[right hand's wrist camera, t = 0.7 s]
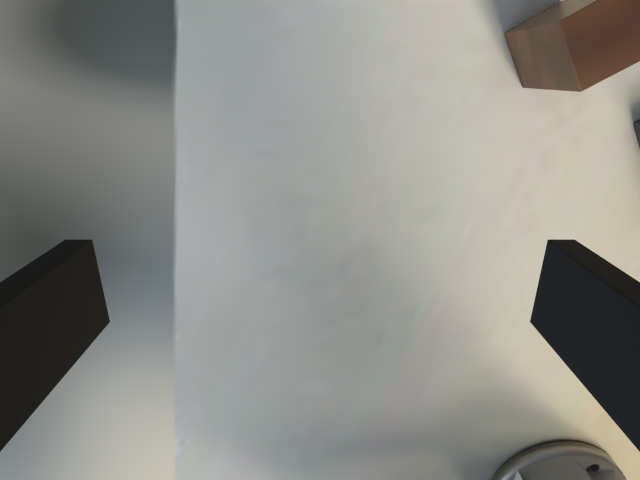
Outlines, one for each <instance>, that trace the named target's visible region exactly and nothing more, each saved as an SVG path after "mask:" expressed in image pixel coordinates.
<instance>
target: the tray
mask: <svg viewBox="0 0 640 480" xmlns="http://www.w3.org/2000/svg"><path fill="white" fill-rule="evenodd" d="M634 127H635V131H636V134H637V138H638V142H639V145H640V120H638V121H636V122H634Z"/></svg>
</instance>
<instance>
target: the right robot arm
mask: <svg viewBox="0 0 640 480" xmlns="http://www.w3.org/2000/svg"><path fill="white" fill-rule="evenodd" d="M109 322H110V320H109V316H108V311H107V307H106V302H105V297H104V293H103V288H102V283H101V279H100V274H99V270H98V265H97V260H96V256H95V251H94V246H93V242H92V240H64V241H63V242H61V243H60V244H58V245H57V246H55V247H54V248H52V249H51V250H49V251H48V252H46V253H44V254H43V255H41V256H40V257H38V258H37V259H35V260H34V261H32V262H31V263H29V264H28V265H26V266H25V267H23V268H22V269H20V270H19V271H17V272H15V273H14V274H12V275H11V276H9V277H8V278H6V279H5V280H3V281H2V282H0V451H1V450H2V449H3V448H4V446H5V445H6V444H7V443H8V442H9V441H10V439H11V438H12V437H13V436H14V435H15V433H16V432H17V431H18V430H19V429H20V428H21V426H22V425H23V424H24V423H25V422H26V420H27V419H28V418H29V417H30V416H31V415H32V413H33V412H34V411H35V410H36V409H37V407H38V406H39V405H40V404H41V403H42V401H43V400H44V399H45V398H46V397H47V395H48V394H49V393H50V392H51V391H52V390H53V388H54V387H55V386H56V385H57V384H58V383H59V381H60V380H61V379H62V378H63V377H64V375H65V374H66V373H67V372H68V371H69V370H70V368H71V367H72V366H73V365H74V364H75V362H76V361H77V360H78V359H79V358H80V356H81V355H82V354H83V353H84V352H85V351H86V349H87V348H88V347H89V346H90V345H91V343H92V342H93V341H94V340H95V339H96V338H97V336H98V335H99V334H100V333H101V332H102V330H103V329H104V328H105V327H106V326H107V325H108V323H109ZM530 322H531V323H532V325H533V326H534V327H535V328H536V329H537V330H538V332H539V333H540V334H541V335H542V336H543V338H544V339H545V340H546V341H547V342H548V343H549V345H550V346H551V347H552V348H553V349H554V351H555V352H556V353H557V354H558V355H559V356H560V358H561V359H562V360H563V361H564V362H565V364H566V365H567V366H568V367H569V368H570V370H571V371H572V372H573V373H574V374H575V375H576V377H577V378H578V379H579V380H580V381H581V383H582V384H583V385H584V386H585V387H586V388H587V390H588V391H589V392H590V393H591V394H592V396H593V397H594V398H595V399H596V400H597V401H598V403H599V404H600V405H601V406H602V407H603V409H604V410H605V411H606V412H607V413H608V415H609V416H610V417H611V418H612V419H613V420H614V422H615V423H616V424H617V425H618V426H619V428H620V429H621V430H622V431H623V432H624V433H625V435H626V436H627V437H628V438H629V439H630V441H631V442H632V443H633V444H634V445H635V446H636V448H637V449H638V450H639V451H640V282H638V281H637V280H635V279H634V278H632V277H631V276H629V275H628V274H626V273H625V272H623V271H621V270H620V269H618V268H617V267H615V266H614V265H612V264H611V263H609V262H608V261H606V260H605V259H603V258H602V257H600V256H599V255H597V254H596V253H594V252H592V251H591V250H589V249H588V248H586V247H585V246H583V245H582V244H580V243H579V242H577V241H576V240H548V242H547V246H546V251H545V256H544V260H543V265H542V270H541V274H540V279H539V283H538V288H537V293H536V297H535V302H534V307H533V311H532V316H531V320H530ZM492 480H626V478H625V476H624V474H623V473H622V472H621V470H620V469H619V468H618V466H617V465H616V464H615V462H614V461H613V460H612V458H611V457H610V456H609V455H608V454H606V453H605V452H604V451H602V450H601V449H599V448H597V447H594V446H592V445H589V444H585V443H580V442H572V441H561V442H551V443H546V444H542V445H538V446H535V447H532V448H530V449H527V450H525V451H523V452H521V453H519V454H517V455H516V456H514V457H513V458H511V459H510V460H508V461H507V462H506V463H505V464H504V465H503V466H502V467H501V468H500V469H499V470H498V471H497V472H496V474H495V475H494V477H493V478H492Z"/></svg>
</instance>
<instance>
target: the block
mask: <svg viewBox="0 0 640 480" xmlns="http://www.w3.org/2000/svg"><path fill="white" fill-rule="evenodd" d="M504 35H505V38H506V40H507V43H508V46H509V49H510V52H511V55H512V57H513V60H514V63H515V66H516V69H517V72H518V74H519V77H520V80H521V83H522V86H523V88H535V89H549V90H564V91H578V92H581V91H583V90H585V89H587V88H589V87H591V86H593V85H595V84H596V83H598V82H600V81H602V80H604V79H606V78H608V77H610V76H612V75H614V74H616V73H618V72H620V71H621V70H623V69H625V68H627V67H629V66H631V65H633V64H635V63H637V62H639V61H640V0H564V1H561V2H559V3H557V4H555V5H553V6H552V7H550V8H548V9H546V10H545V11H543V12H541V13H539V14H537V15H536V16H534V17H532V18H530V19H529V20H527V21H525V22H523V23H521V24H520V25H518V26H516V27H514V28H513V29H511V30H509V31H507V32H506V33H504Z"/></svg>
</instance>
